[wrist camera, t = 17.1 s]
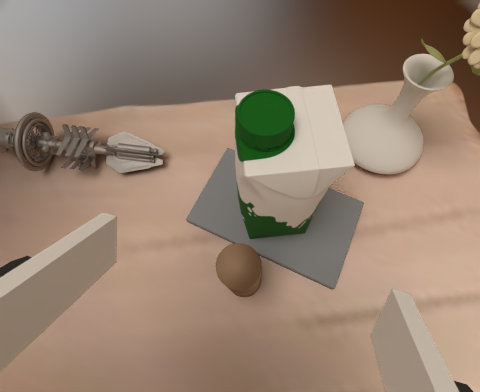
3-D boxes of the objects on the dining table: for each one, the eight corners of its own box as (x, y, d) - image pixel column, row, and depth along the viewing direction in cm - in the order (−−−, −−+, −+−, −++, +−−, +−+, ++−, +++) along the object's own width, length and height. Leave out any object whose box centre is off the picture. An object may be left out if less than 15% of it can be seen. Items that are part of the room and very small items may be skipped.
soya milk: (236, 184, 40) (225, 67, 22) (302, 177, 40) (346, 55, 22) (242, 247, 37) (237, 171, 18) (315, 239, 37) (380, 156, 19)
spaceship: (-93, 85, 40) (-152, 114, 34) (167, 117, 41) (152, 150, 35) (-58, 135, 45) (-104, 167, 40) (171, 161, 47) (158, 197, 41)
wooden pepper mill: (223, 290, 36) (209, 280, 26) (234, 259, 37) (224, 237, 27) (254, 301, 35) (253, 296, 25) (264, 268, 37) (267, 250, 26)
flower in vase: (323, 157, 43) (410, -36, 20) (353, 102, 46) (456, -113, 24) (413, 199, 40) (637, 30, 17) (437, 137, 44) (648, -71, 21)
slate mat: (187, 221, 39) (186, 219, 38) (227, 151, 44) (227, 147, 43) (332, 289, 36) (334, 288, 35) (361, 205, 40) (364, 202, 39)
